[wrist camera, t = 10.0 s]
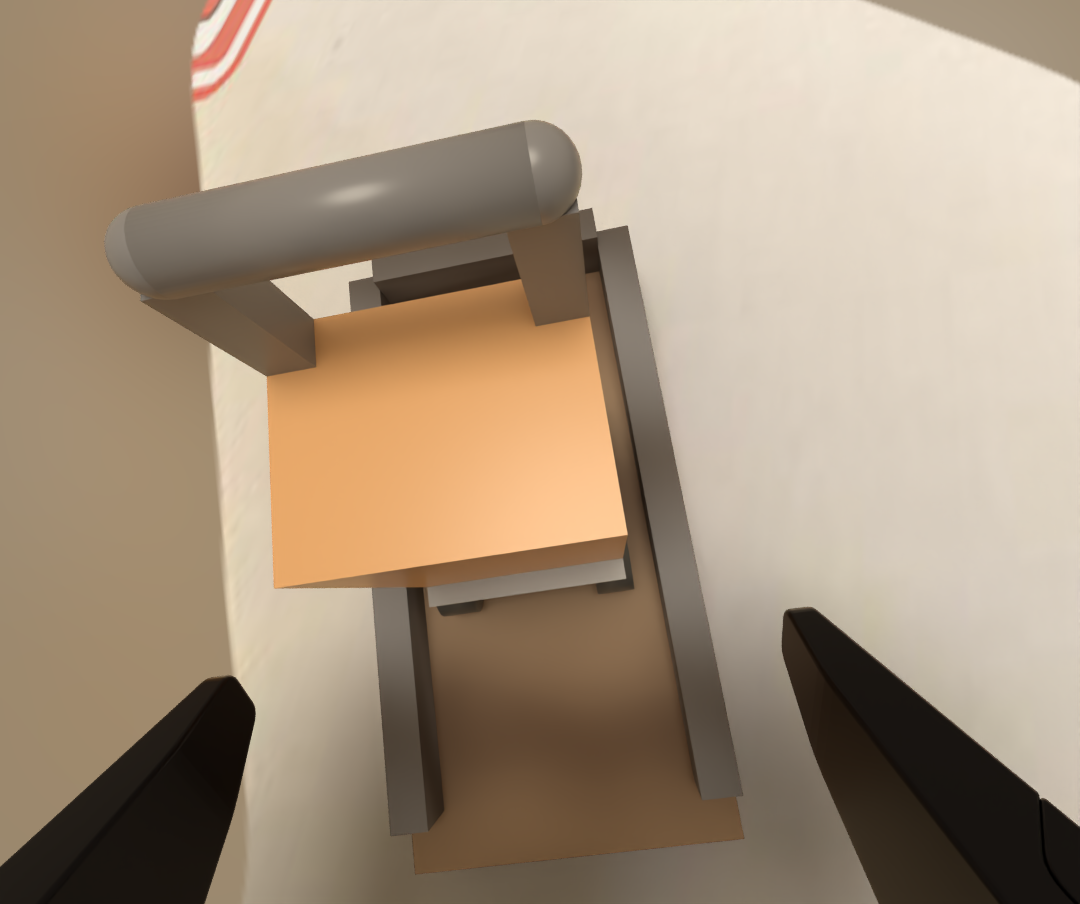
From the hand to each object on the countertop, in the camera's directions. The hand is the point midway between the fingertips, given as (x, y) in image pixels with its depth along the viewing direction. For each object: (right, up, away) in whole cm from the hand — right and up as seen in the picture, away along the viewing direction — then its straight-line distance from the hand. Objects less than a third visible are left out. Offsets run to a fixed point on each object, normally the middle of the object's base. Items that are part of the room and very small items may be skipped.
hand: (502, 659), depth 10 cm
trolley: (0, +2, +9) cm, 9 cm away
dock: (+1, +1, +11) cm, 11 cm away
